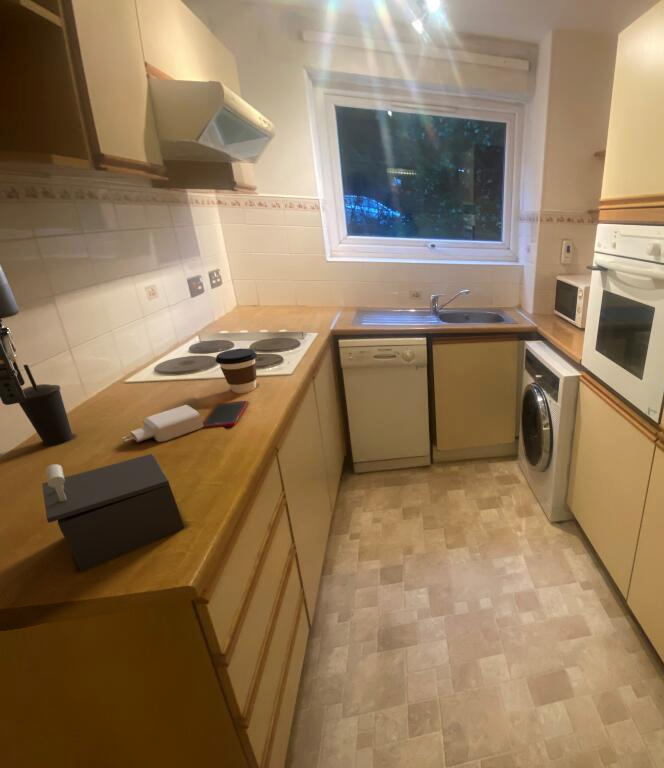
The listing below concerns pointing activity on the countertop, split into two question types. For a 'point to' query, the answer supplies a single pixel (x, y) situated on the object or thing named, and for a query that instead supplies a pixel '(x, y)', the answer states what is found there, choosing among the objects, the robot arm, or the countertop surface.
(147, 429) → the charger
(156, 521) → the open grey storage box
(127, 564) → the countertop surface
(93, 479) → the lid
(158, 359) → the countertop surface
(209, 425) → the cell phone
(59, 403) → the drinking cup
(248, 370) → the coffee cup
